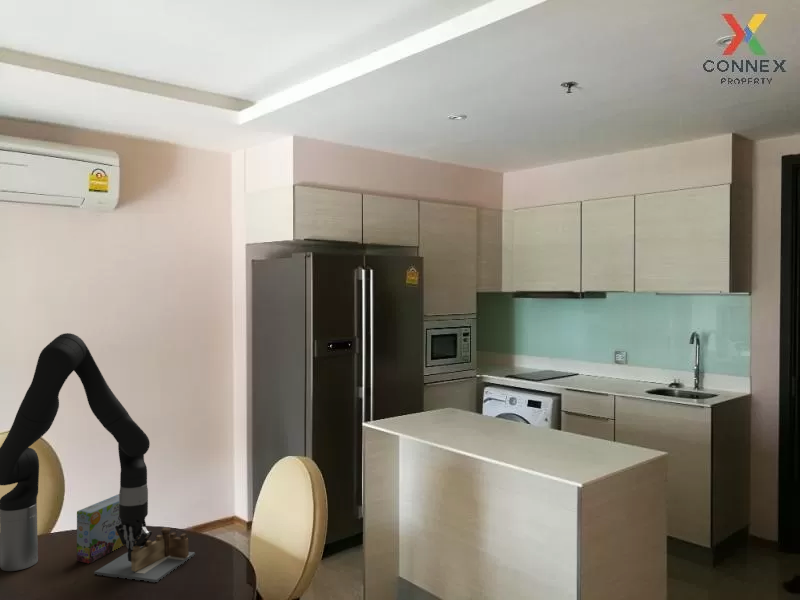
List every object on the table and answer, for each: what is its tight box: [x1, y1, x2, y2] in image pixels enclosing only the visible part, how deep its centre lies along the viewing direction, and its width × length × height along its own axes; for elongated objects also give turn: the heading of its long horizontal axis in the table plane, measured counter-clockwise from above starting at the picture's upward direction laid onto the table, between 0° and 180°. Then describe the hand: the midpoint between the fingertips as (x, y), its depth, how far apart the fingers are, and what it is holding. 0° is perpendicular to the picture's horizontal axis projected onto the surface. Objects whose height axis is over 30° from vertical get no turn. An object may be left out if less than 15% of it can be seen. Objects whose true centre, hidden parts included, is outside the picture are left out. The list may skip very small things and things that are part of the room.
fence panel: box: [131, 534, 165, 572], centre depth 178 cm, size 11×2×6 cm, turn 155°
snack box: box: [76, 493, 124, 564], centre depth 191 cm, size 21×6×15 cm, turn 162°
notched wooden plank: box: [160, 527, 190, 558], centre depth 183 cm, size 8×3×9 cm, turn 75°
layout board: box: [94, 546, 196, 583], centre depth 180 cm, size 20×18×1 cm
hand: (133, 560), depth 177 cm, fingers closed
